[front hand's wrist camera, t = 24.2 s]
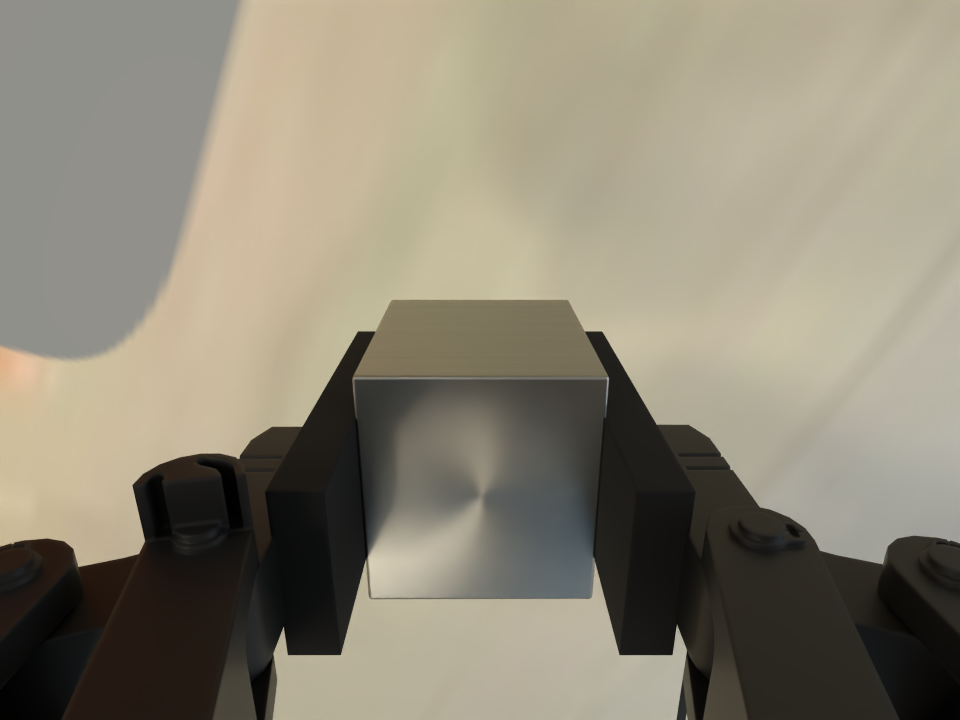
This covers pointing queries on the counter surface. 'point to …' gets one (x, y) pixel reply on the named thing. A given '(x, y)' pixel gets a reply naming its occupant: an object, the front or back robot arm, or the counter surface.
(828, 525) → the counter surface
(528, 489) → the metal block
